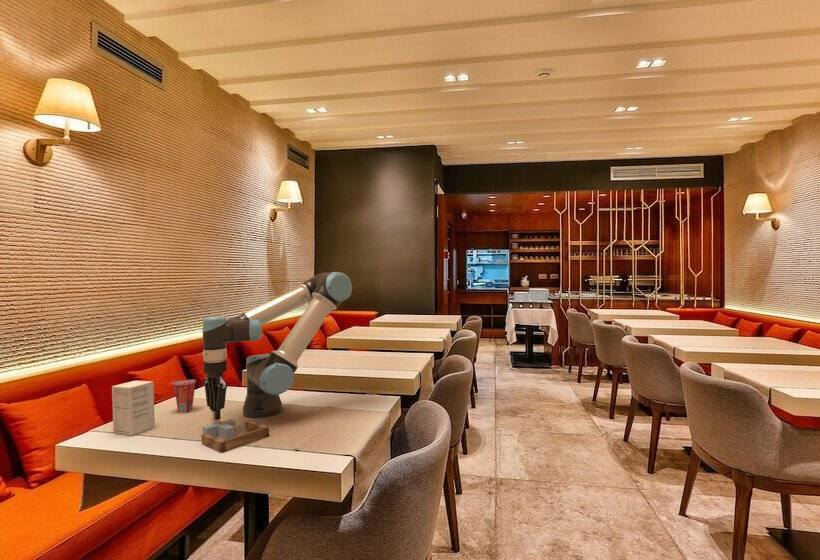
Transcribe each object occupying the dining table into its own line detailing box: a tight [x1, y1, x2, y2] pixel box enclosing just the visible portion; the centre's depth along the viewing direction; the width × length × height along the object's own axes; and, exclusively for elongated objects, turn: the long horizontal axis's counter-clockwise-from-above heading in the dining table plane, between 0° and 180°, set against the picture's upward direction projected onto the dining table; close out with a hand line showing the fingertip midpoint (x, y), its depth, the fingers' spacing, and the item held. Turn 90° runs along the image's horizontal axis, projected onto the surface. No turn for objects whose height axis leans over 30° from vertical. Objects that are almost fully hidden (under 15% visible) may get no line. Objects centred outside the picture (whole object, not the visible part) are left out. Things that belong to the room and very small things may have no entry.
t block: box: [202, 418, 236, 440], centre depth 145 cm, size 9×10×4 cm
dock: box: [201, 420, 270, 454], centre depth 141 cm, size 12×17×3 cm
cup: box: [168, 379, 197, 414], centre depth 174 cm, size 9×8×12 cm
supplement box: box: [111, 380, 156, 437], centre depth 152 cm, size 10×9×17 cm
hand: (215, 428), depth 148 cm, fingers closed
